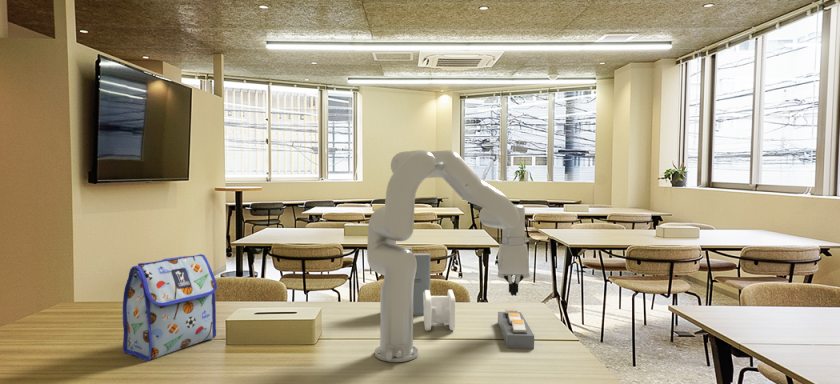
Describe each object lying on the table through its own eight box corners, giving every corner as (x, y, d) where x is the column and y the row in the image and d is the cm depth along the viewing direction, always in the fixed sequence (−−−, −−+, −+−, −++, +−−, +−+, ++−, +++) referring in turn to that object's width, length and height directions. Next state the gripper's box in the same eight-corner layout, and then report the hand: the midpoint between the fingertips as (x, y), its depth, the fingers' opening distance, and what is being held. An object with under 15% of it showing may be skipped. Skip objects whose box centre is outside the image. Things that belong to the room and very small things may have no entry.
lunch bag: (151, 365, 132) (150, 267, 131) (117, 353, 140) (116, 261, 139) (222, 340, 152) (222, 255, 151) (189, 331, 160) (188, 250, 159)
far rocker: (517, 313, 164) (517, 310, 165) (506, 313, 165) (506, 310, 165) (515, 312, 169) (515, 309, 169) (505, 312, 169) (505, 309, 170)
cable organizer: (455, 333, 160) (456, 299, 159) (423, 333, 160) (423, 298, 159) (452, 320, 175) (452, 288, 174) (422, 320, 175) (423, 288, 174)
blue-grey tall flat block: (383, 314, 181) (383, 248, 180) (384, 311, 185) (384, 246, 184) (429, 315, 180) (430, 248, 179) (429, 311, 185) (430, 246, 184)
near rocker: (525, 332, 149) (525, 329, 148) (513, 332, 149) (514, 329, 149) (523, 322, 153) (523, 319, 153) (511, 321, 154) (511, 319, 153)
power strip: (534, 348, 147) (534, 333, 146) (507, 348, 147) (507, 333, 147) (516, 315, 181) (516, 303, 180) (494, 315, 181) (495, 303, 181)
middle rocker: (521, 323, 157) (521, 320, 156) (510, 323, 157) (510, 320, 156) (519, 316, 161) (519, 313, 161) (508, 315, 162) (508, 312, 161)
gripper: (533, 239, 168) (533, 291, 169) (490, 239, 168) (490, 291, 169) (537, 242, 160) (537, 297, 161) (492, 242, 161) (492, 297, 162)
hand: (513, 294), depth 165 cm, fingers closed
